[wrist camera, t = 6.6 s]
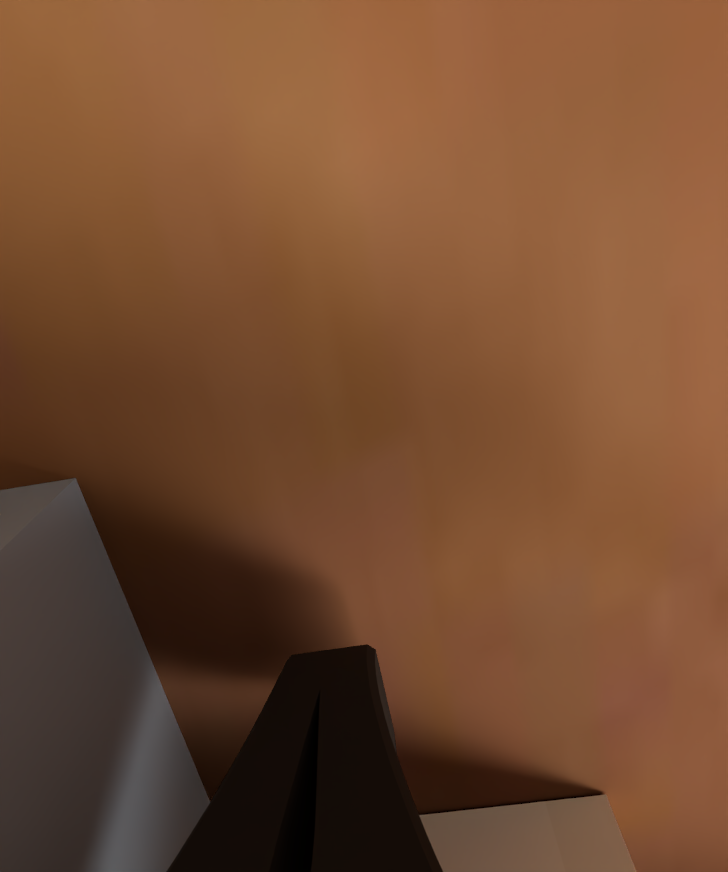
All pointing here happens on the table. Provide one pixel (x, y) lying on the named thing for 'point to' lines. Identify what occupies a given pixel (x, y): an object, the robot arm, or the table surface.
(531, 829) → the shelf wall
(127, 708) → the boxed book
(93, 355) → the table surface
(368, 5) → the table surface
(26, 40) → the table surface
